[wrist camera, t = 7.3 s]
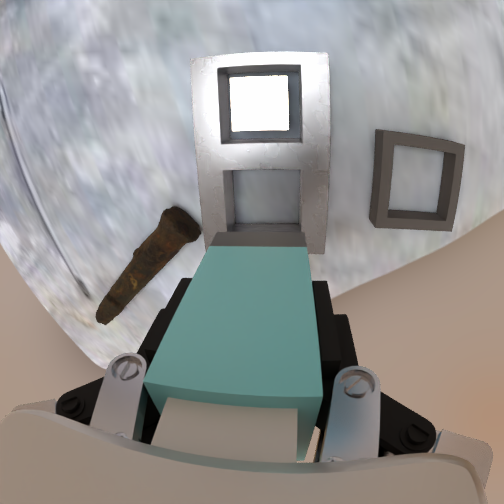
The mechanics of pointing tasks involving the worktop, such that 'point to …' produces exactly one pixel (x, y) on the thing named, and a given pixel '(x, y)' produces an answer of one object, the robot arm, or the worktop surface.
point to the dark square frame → (383, 177)
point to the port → (261, 149)
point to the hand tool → (149, 260)
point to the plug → (242, 354)
